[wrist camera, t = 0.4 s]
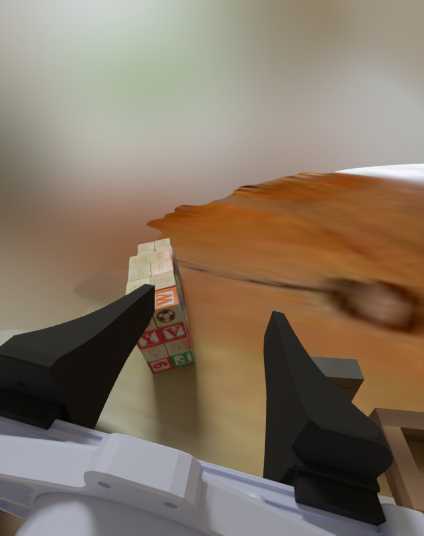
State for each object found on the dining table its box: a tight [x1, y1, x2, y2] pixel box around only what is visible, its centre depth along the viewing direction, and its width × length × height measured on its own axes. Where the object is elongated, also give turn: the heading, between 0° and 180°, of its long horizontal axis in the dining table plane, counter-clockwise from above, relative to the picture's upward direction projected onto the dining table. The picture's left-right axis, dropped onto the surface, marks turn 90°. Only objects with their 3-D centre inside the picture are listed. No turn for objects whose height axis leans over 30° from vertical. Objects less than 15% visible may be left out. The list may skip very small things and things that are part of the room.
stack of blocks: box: [126, 238, 195, 374], centre depth 37 cm, size 21×6×12 cm, turn 13°
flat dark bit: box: [310, 357, 364, 402], centre depth 24 cm, size 2×6×7 cm, turn 82°
